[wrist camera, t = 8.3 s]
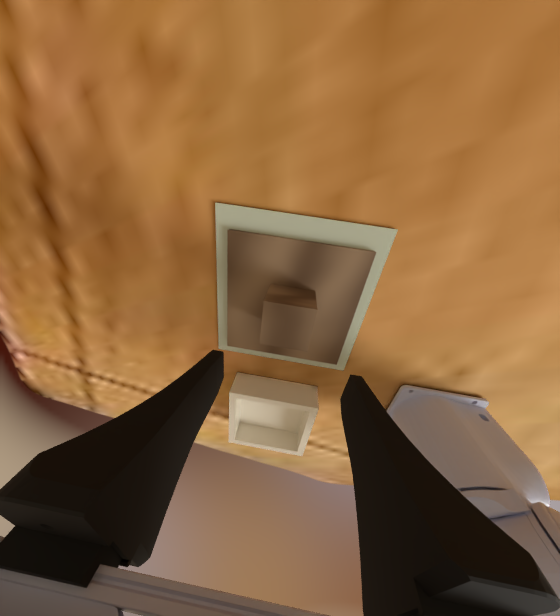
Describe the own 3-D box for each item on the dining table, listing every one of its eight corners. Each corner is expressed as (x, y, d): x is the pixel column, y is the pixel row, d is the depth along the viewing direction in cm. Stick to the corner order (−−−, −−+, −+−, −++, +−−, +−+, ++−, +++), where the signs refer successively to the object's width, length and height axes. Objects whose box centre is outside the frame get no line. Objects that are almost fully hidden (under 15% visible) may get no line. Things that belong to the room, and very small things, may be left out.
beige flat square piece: (396, 229, 16) (397, 229, 15) (343, 368, 23) (343, 370, 22) (216, 202, 16) (215, 202, 16) (219, 347, 23) (218, 348, 23)
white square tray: (317, 386, 24) (318, 408, 22) (302, 433, 29) (302, 456, 27) (237, 372, 25) (229, 392, 22) (235, 420, 30) (228, 442, 27)
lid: (374, 250, 16) (394, 265, 13) (335, 360, 22) (342, 392, 18) (229, 228, 17) (208, 236, 13) (229, 342, 22) (214, 369, 19)
